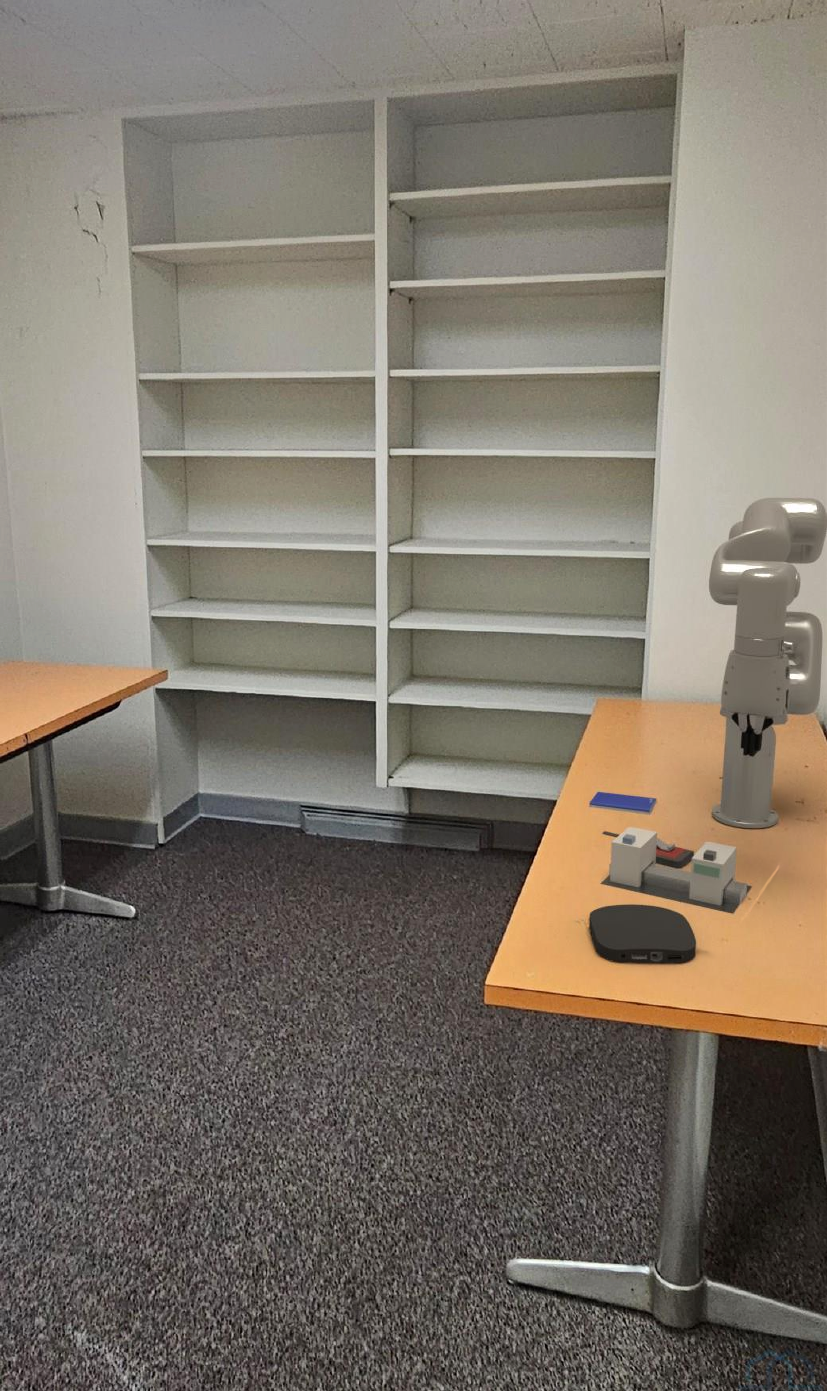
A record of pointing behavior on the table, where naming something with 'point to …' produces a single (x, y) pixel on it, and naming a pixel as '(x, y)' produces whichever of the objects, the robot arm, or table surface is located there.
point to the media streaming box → (641, 934)
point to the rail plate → (674, 895)
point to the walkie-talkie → (668, 853)
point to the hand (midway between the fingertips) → (750, 753)
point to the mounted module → (632, 855)
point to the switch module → (712, 872)
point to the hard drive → (623, 803)
